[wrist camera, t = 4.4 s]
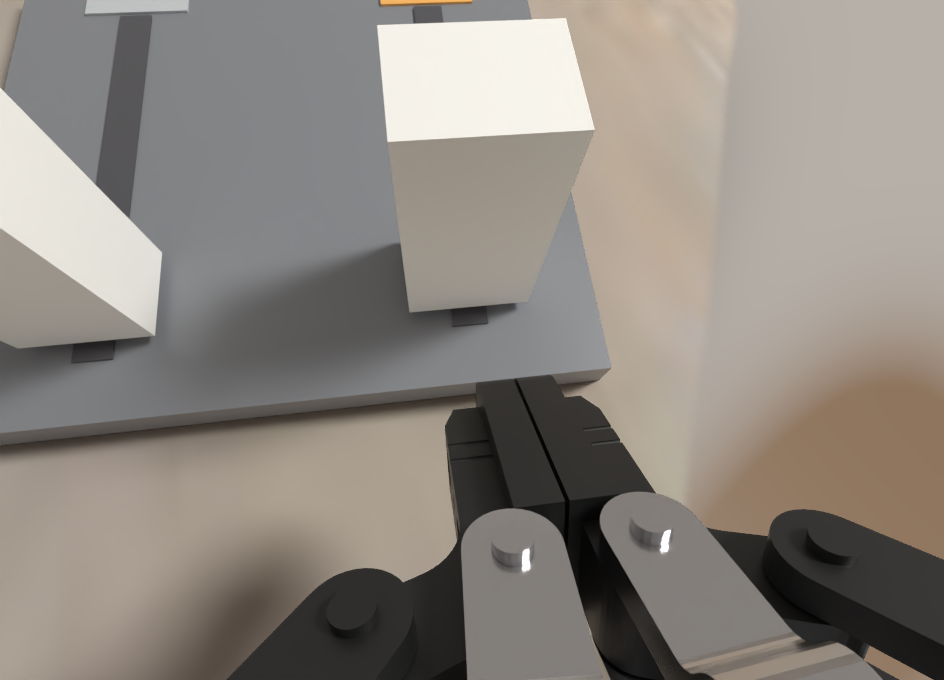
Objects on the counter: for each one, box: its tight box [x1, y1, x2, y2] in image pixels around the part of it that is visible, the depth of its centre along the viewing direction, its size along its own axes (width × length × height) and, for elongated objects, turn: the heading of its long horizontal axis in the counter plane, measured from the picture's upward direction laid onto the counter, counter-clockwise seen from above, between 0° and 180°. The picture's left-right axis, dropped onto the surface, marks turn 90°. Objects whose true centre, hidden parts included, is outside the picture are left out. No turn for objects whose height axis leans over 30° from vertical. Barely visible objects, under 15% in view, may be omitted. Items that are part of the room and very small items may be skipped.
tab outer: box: [377, 18, 595, 313], centre depth 14 cm, size 4×3×8 cm
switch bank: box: [0, 0, 611, 445], centre depth 20 cm, size 21×20×2 cm
